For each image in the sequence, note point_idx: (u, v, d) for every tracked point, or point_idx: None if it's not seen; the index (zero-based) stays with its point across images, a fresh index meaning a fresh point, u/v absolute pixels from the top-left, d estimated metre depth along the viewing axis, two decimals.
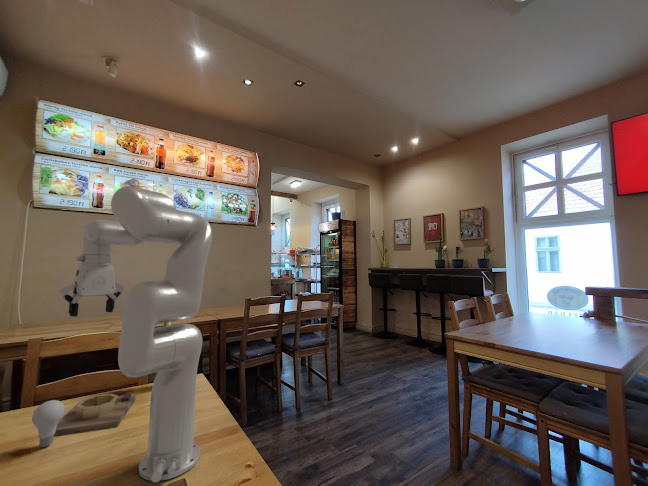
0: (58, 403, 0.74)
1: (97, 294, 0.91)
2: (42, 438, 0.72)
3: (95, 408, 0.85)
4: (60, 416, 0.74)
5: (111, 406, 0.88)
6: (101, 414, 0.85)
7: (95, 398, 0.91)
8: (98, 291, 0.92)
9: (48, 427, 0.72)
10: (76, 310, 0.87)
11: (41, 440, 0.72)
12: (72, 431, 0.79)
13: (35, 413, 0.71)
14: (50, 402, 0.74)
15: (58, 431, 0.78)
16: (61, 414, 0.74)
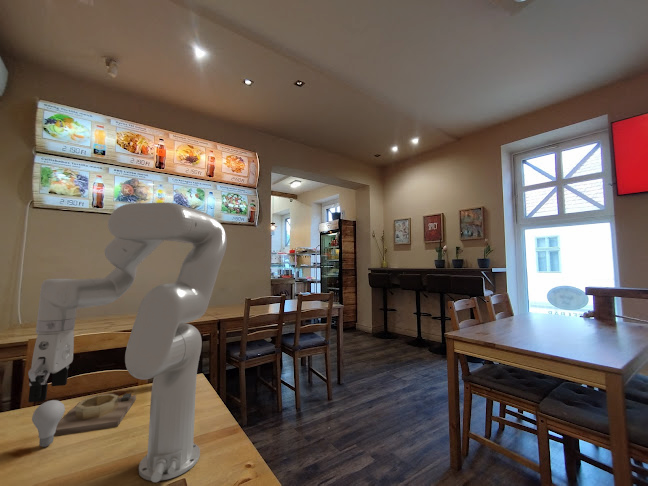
0: (58, 403, 0.74)
1: (64, 367, 0.76)
2: (42, 438, 0.72)
3: (95, 408, 0.85)
4: (60, 416, 0.74)
5: (111, 406, 0.88)
6: (101, 414, 0.85)
7: (95, 398, 0.91)
8: (65, 363, 0.76)
9: (48, 427, 0.72)
10: (46, 392, 0.71)
11: (41, 440, 0.72)
12: (72, 431, 0.79)
13: (35, 413, 0.71)
14: (50, 402, 0.74)
15: (58, 431, 0.78)
16: (61, 414, 0.74)
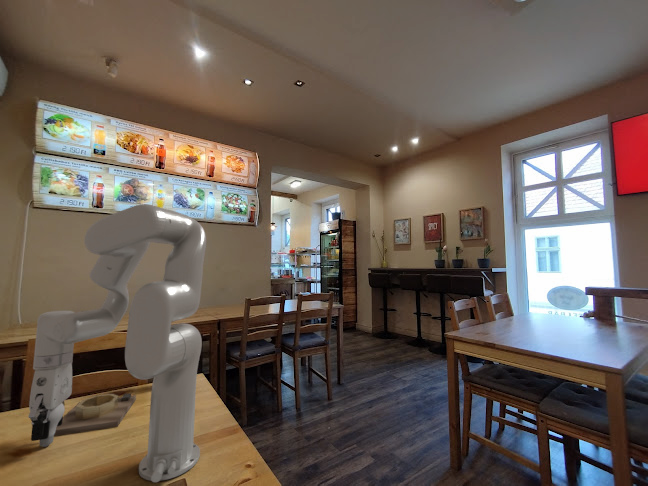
0: None
1: (62, 401, 0.75)
2: None
3: (95, 408, 0.85)
4: (60, 416, 0.74)
5: (111, 406, 0.88)
6: (101, 414, 0.85)
7: (95, 398, 0.91)
8: (63, 397, 0.75)
9: None
10: (48, 430, 0.71)
11: (41, 440, 0.72)
12: (72, 431, 0.79)
13: None
14: None
15: (58, 431, 0.78)
16: (61, 414, 0.74)
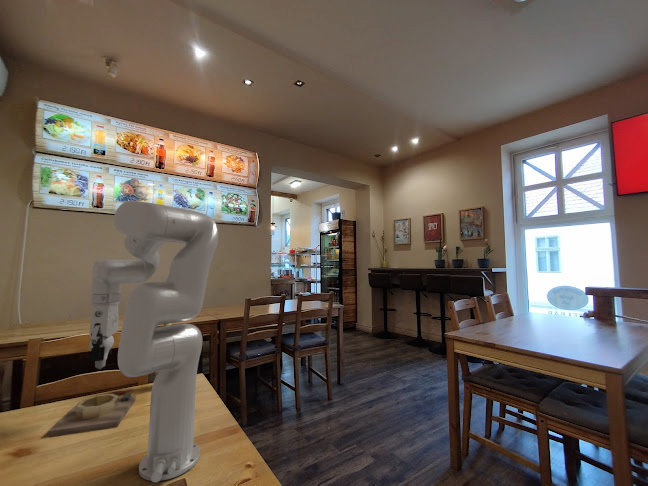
0: None
1: (113, 333, 0.91)
2: (97, 361, 0.88)
3: (95, 408, 0.85)
4: (111, 345, 0.90)
5: (111, 406, 0.88)
6: (101, 414, 0.85)
7: (95, 398, 0.91)
8: (113, 330, 0.92)
9: None
10: (103, 354, 0.88)
11: (96, 363, 0.88)
12: (72, 431, 0.79)
13: None
14: None
15: (58, 431, 0.78)
16: (111, 343, 0.90)
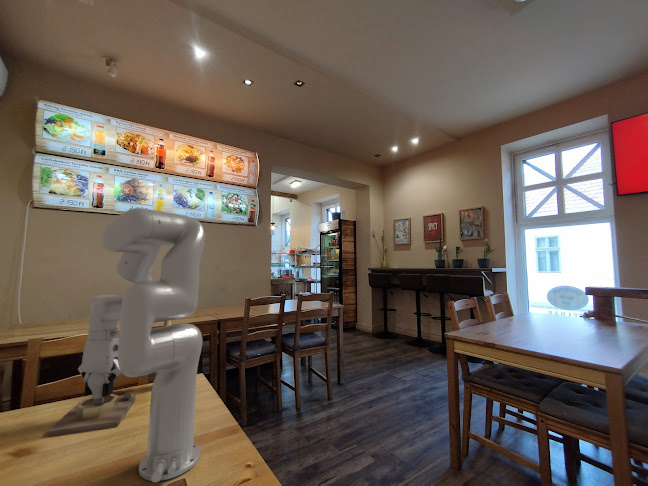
0: None
1: None
2: (101, 397, 0.88)
3: (95, 408, 0.85)
4: None
5: (111, 406, 0.88)
6: (101, 414, 0.85)
7: None
8: None
9: None
10: None
11: (100, 399, 0.88)
12: (72, 431, 0.79)
13: (101, 377, 0.87)
14: None
15: (58, 431, 0.78)
16: None
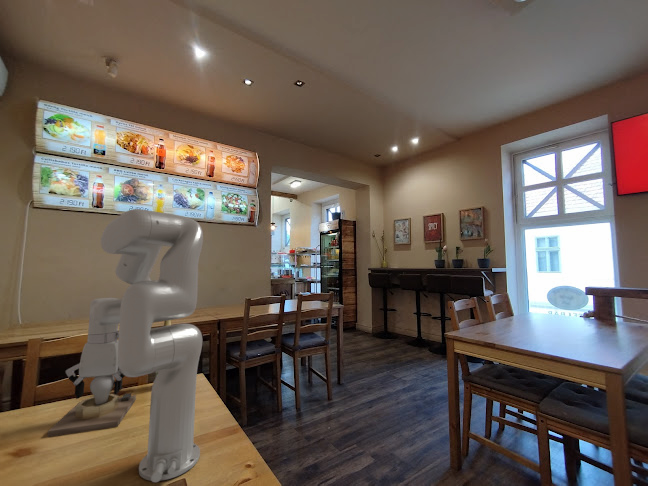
0: None
1: None
2: (105, 402, 0.89)
3: (95, 408, 0.85)
4: None
5: (111, 406, 0.88)
6: (101, 414, 0.85)
7: None
8: None
9: None
10: None
11: None
12: (72, 431, 0.79)
13: (108, 381, 0.88)
14: None
15: (58, 431, 0.78)
16: None
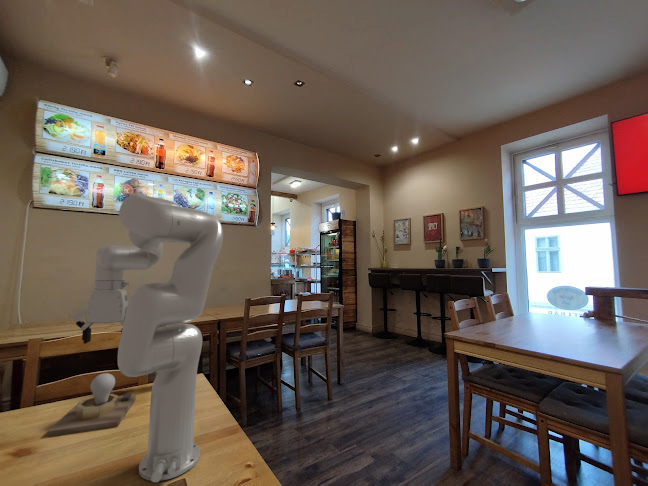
0: None
1: None
2: (105, 402, 0.89)
3: (95, 408, 0.85)
4: None
5: (111, 406, 0.88)
6: (101, 414, 0.85)
7: None
8: None
9: None
10: None
11: None
12: (72, 431, 0.79)
13: (109, 381, 0.88)
14: (106, 373, 0.90)
15: (58, 431, 0.78)
16: None
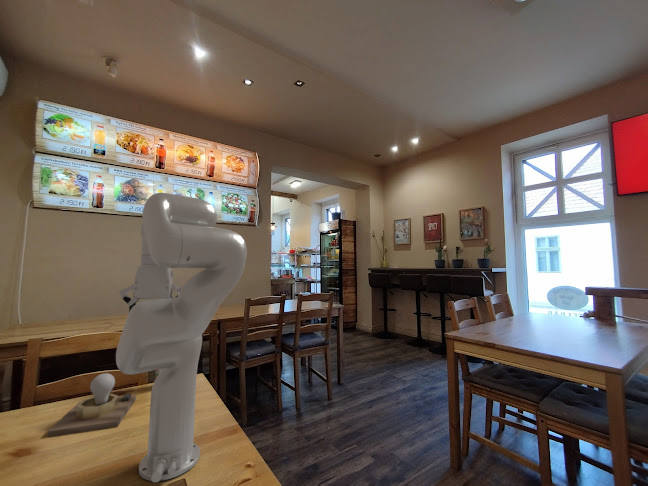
0: None
1: None
2: (105, 402, 0.89)
3: (95, 408, 0.85)
4: None
5: (111, 406, 0.88)
6: (101, 414, 0.85)
7: None
8: None
9: None
10: None
11: None
12: (72, 431, 0.79)
13: (109, 381, 0.88)
14: (106, 373, 0.90)
15: (58, 431, 0.78)
16: None
